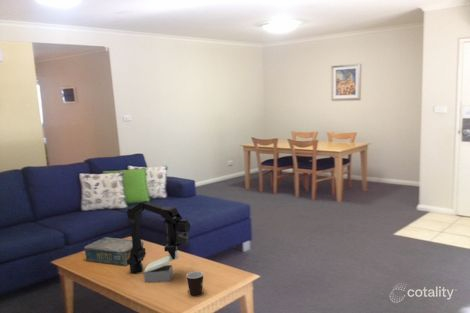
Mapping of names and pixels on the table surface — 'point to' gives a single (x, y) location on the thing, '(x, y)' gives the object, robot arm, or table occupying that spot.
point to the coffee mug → (195, 283)
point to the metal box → (109, 251)
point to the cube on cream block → (160, 262)
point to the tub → (159, 274)
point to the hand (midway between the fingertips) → (174, 257)
